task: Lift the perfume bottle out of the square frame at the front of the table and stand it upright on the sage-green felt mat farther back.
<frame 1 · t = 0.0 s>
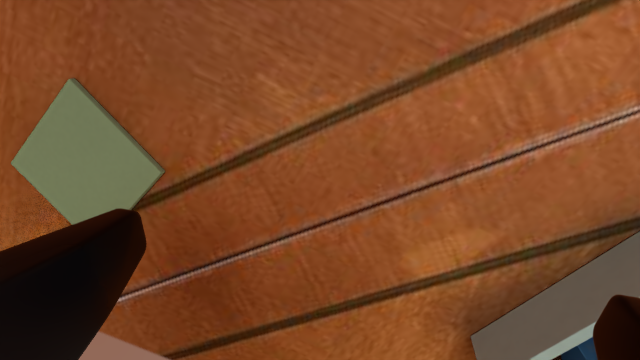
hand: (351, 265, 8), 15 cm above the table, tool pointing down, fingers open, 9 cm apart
square frame: (621, 355, 22), on the table
mat: (88, 166, 26), on the table
perfume bottle: (619, 353, 23), resting in square frame
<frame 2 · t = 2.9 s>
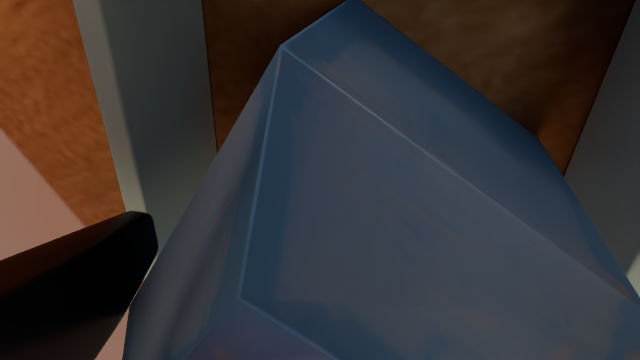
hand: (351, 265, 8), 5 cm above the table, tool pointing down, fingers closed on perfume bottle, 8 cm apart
square frame: (376, 152, 12), on the table
perfume bottle: (377, 149, 12), resting in square frame, touching gripper
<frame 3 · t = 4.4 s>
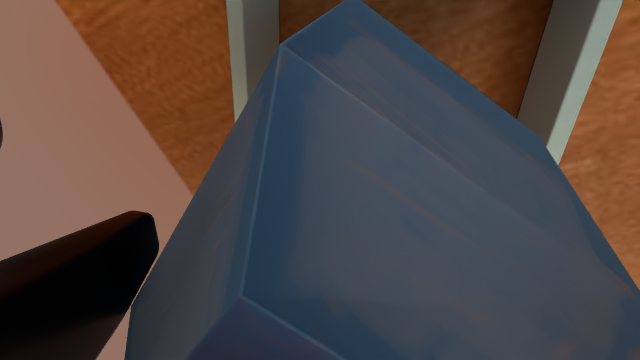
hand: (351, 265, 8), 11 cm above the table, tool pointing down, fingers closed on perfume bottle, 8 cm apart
square frame: (393, 98, 17), on the table
perfume bottle: (377, 148, 12), point 6 cm above the table, touching gripper
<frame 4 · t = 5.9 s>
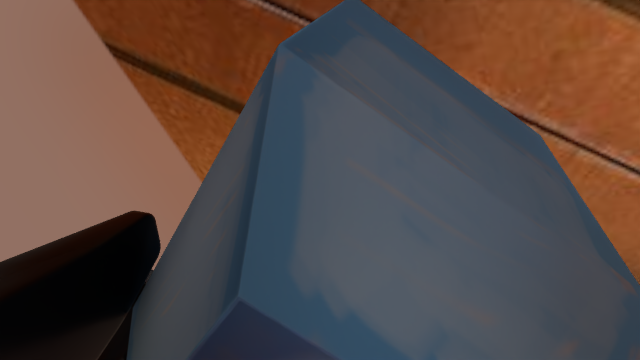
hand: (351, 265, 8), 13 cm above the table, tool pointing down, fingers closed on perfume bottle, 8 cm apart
perfume bottle: (378, 149, 12), point 8 cm above the table, touching gripper
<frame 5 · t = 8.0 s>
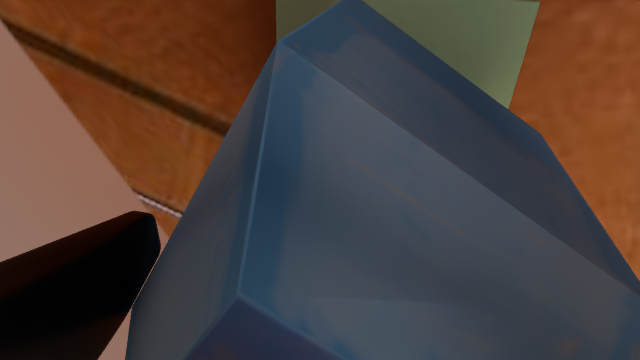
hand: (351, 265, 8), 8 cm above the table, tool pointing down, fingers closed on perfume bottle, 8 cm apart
mat: (385, 111, 14), on the table
perfume bottle: (378, 148, 12), point 3 cm above the table, touching gripper
when the fingers open (6 cm above the table, at t = 9.4 s): perfume bottle stays where it is, resting on mat.
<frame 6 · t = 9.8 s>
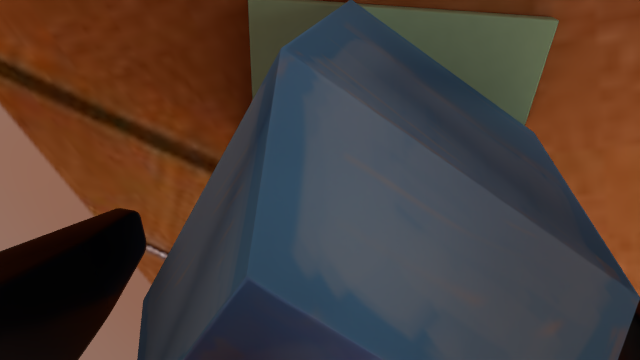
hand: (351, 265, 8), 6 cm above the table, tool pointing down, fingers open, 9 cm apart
mat: (377, 141, 13), on the table
perfume bottle: (377, 147, 12), resting on mat
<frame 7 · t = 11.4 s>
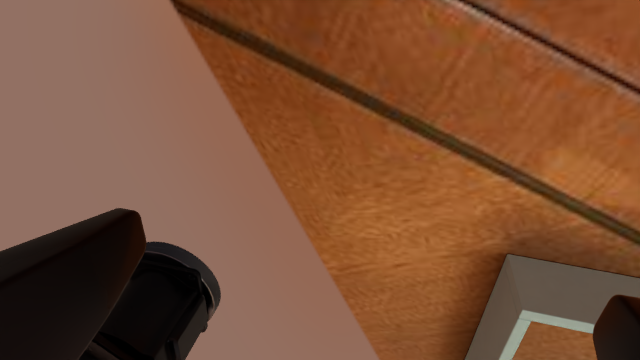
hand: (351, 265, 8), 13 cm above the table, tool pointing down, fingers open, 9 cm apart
square frame: (579, 345, 24), on the table
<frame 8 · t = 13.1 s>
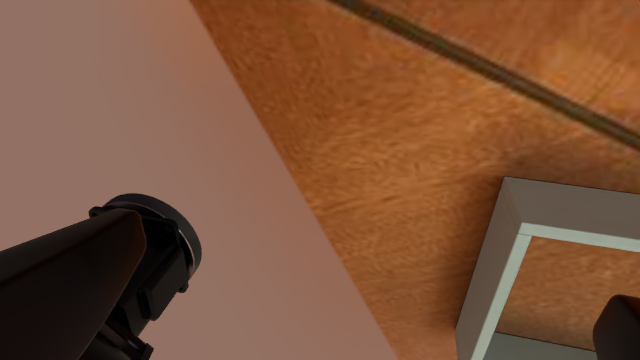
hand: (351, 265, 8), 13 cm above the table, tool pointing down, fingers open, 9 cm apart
square frame: (585, 281, 22), on the table
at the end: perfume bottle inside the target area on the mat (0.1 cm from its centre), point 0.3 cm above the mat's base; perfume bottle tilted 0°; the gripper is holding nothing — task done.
